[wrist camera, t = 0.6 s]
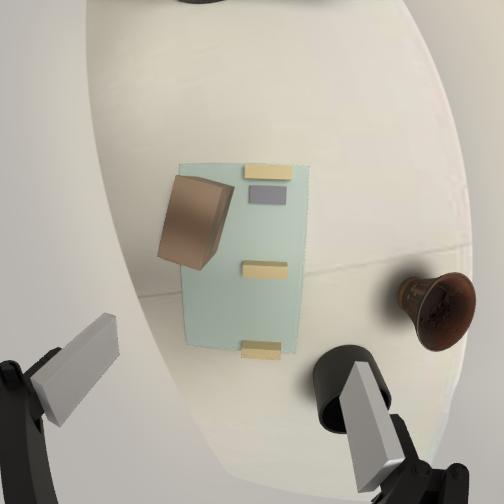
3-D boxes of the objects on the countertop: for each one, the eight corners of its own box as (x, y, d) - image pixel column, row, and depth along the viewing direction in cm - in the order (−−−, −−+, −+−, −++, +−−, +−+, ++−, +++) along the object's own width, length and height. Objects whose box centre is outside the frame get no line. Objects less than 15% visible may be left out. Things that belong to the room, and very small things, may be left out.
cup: (442, 250, 32) (485, 271, 22) (436, 309, 34) (471, 342, 24) (387, 255, 33) (423, 282, 23) (384, 318, 35) (412, 358, 25)
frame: (197, 176, 31) (174, 174, 24) (235, 186, 31) (222, 187, 24) (180, 240, 33) (156, 256, 26) (216, 252, 33) (200, 271, 26)
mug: (313, 407, 39) (317, 448, 31) (311, 348, 37) (319, 391, 28) (369, 398, 38) (382, 437, 29) (376, 339, 35) (397, 377, 27)
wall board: (182, 164, 32) (173, 163, 29) (308, 166, 31) (311, 164, 28) (188, 341, 38) (182, 352, 35) (294, 349, 37) (295, 362, 34)
